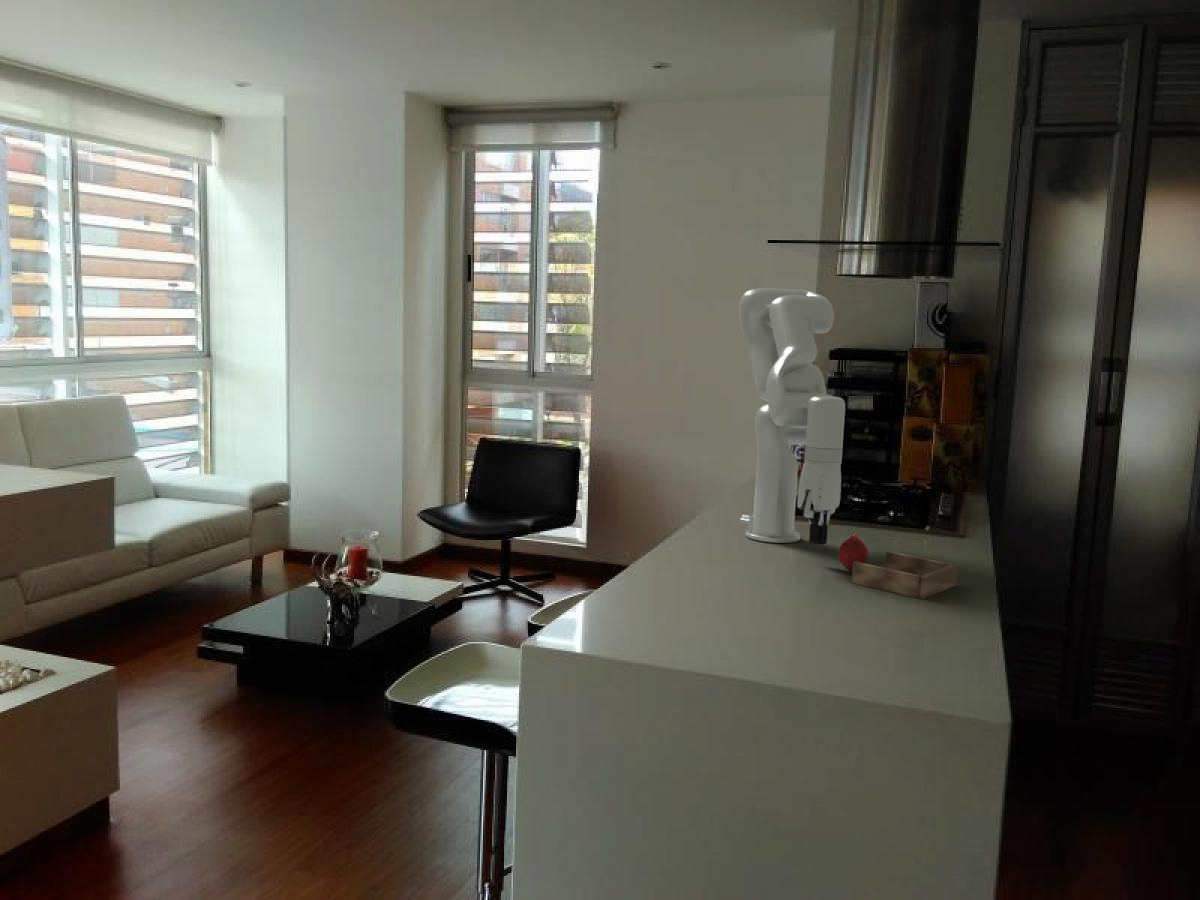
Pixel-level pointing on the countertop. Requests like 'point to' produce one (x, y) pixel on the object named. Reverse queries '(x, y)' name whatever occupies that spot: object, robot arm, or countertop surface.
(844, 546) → the onion
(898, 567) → the wooden tray
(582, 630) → the countertop surface
